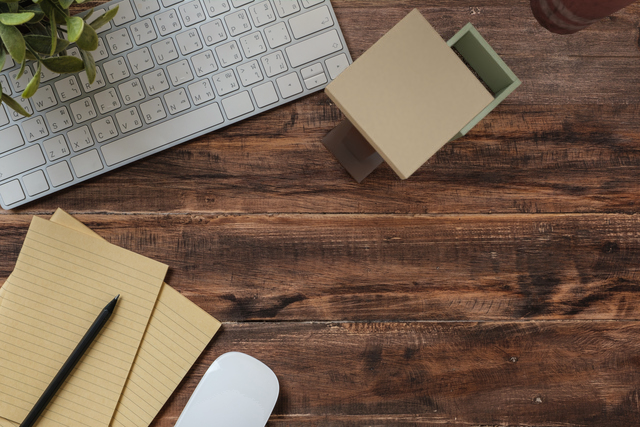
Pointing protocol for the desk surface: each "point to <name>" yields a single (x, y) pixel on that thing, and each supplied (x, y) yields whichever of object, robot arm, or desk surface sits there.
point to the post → (352, 150)
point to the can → (573, 13)
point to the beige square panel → (408, 94)
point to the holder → (483, 69)
